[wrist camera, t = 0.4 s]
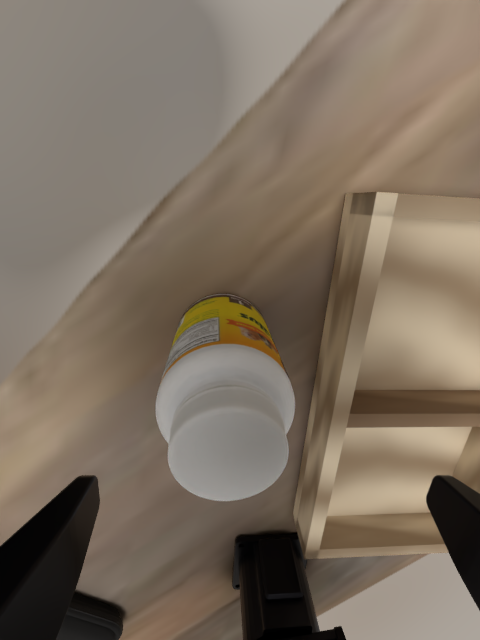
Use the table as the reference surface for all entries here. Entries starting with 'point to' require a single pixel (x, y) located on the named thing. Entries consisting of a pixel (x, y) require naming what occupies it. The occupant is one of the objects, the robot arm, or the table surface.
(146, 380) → the table surface
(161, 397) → the supplement bottle
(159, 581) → the table surface
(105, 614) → the carrying case or bag
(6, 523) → the table surface
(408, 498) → the wooden divided tray
